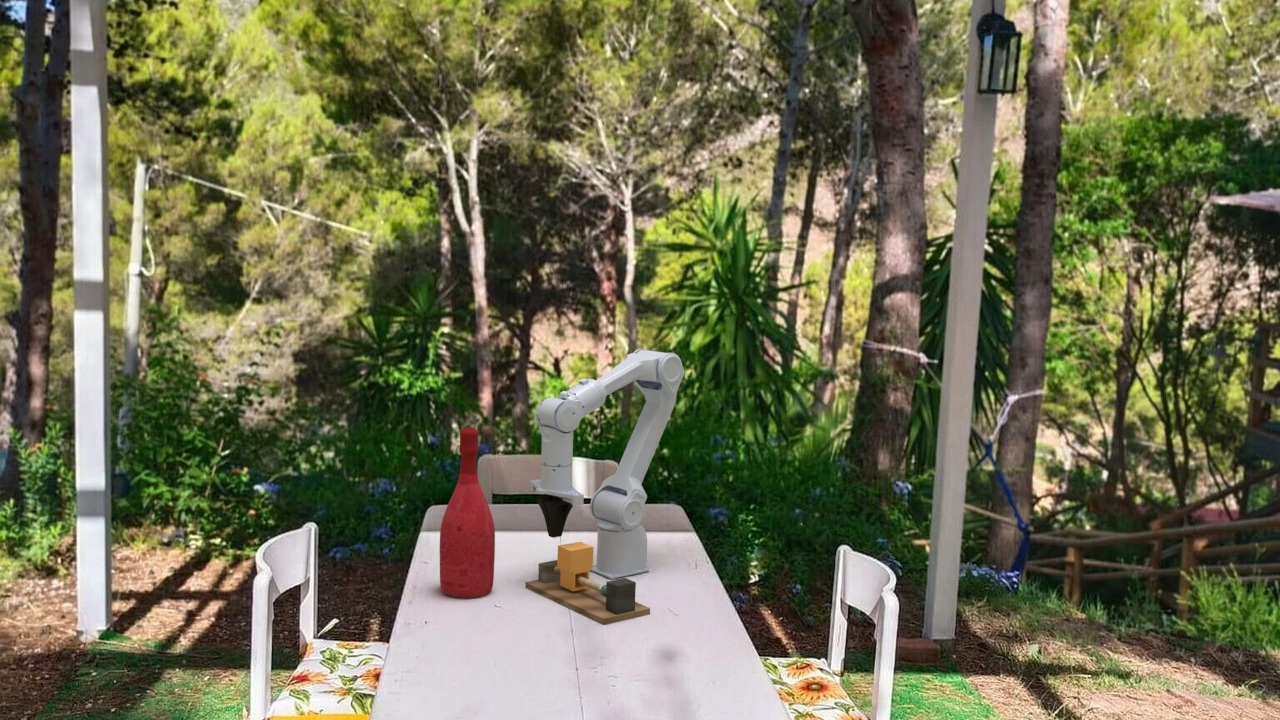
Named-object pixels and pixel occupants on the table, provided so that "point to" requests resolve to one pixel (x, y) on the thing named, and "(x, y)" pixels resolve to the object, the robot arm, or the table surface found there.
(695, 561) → the table surface
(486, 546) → the wine bottle
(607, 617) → the cord rig
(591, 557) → the orange notched block
